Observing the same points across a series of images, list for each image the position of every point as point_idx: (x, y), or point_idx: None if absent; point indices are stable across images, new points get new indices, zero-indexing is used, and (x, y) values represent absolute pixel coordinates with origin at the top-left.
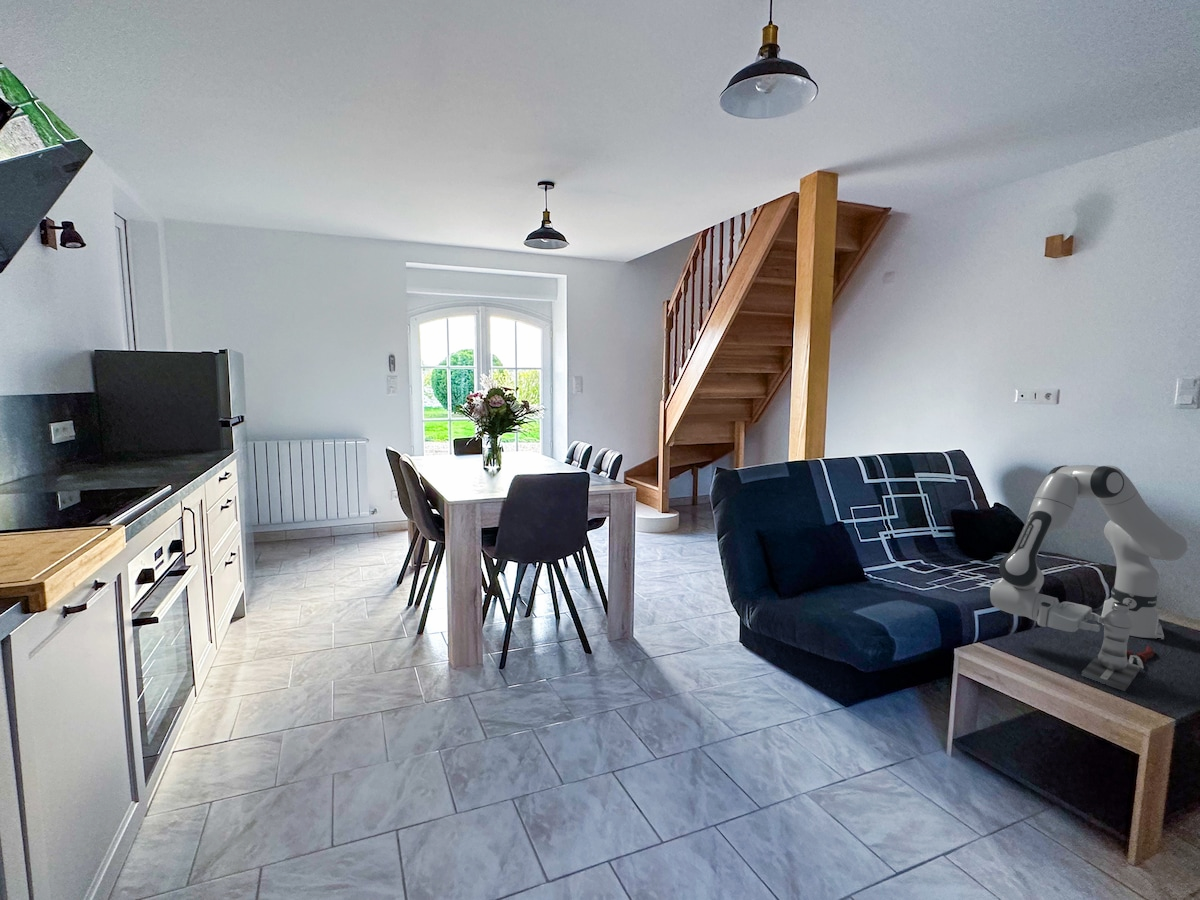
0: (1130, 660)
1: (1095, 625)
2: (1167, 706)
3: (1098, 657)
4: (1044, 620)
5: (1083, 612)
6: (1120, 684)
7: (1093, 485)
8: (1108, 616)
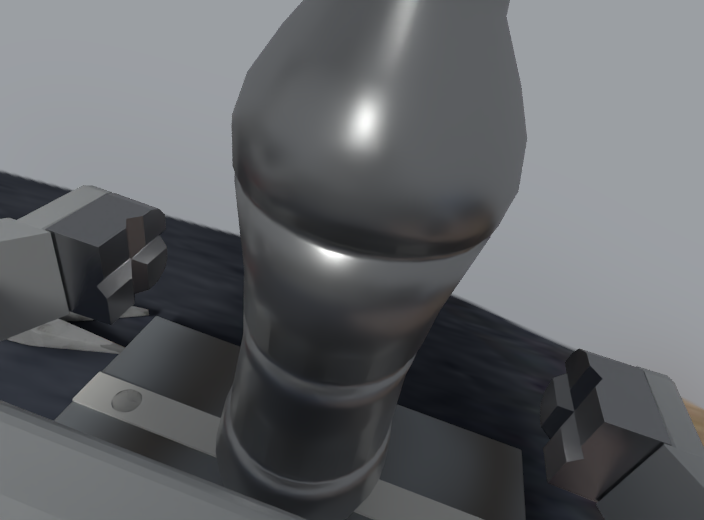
0: (63, 334)
1: (683, 409)
2: (512, 349)
3: None
4: None
5: (51, 493)
6: (521, 472)
7: None
8: (476, 138)
